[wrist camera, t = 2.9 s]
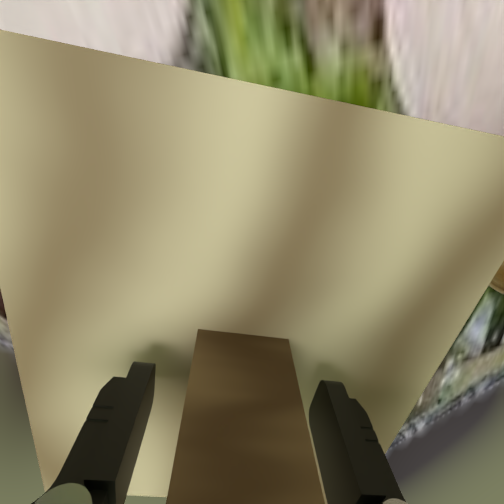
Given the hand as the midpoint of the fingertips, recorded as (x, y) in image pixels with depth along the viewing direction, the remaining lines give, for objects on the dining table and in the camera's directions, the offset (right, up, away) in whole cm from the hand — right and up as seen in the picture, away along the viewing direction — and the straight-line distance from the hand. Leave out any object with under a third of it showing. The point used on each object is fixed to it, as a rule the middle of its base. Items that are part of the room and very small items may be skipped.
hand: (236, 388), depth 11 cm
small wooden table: (-1, +6, +12) cm, 13 cm away
